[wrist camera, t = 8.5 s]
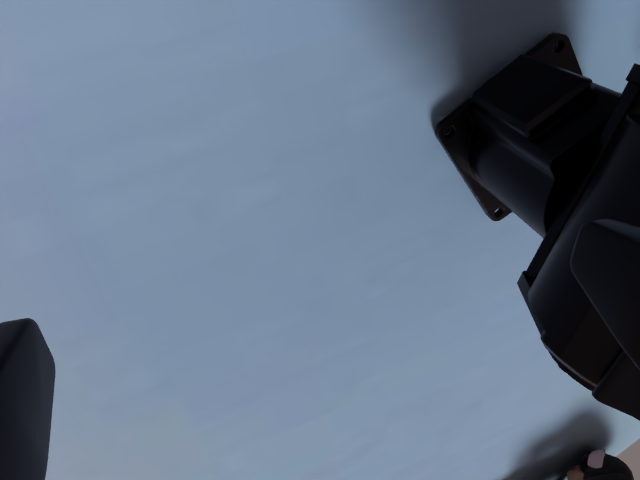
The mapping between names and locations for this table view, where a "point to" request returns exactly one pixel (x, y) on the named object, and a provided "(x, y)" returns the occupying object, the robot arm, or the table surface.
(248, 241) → the table surface
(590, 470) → the toy figure
